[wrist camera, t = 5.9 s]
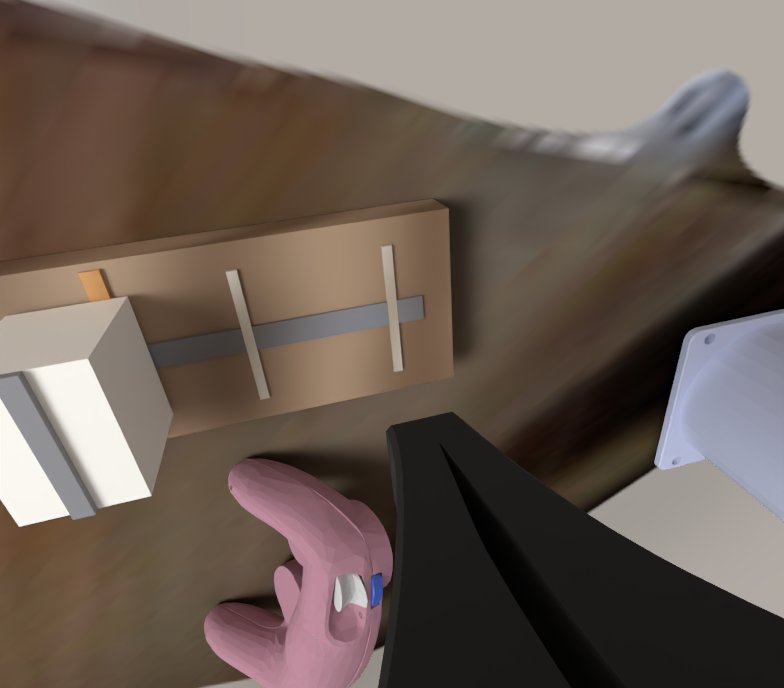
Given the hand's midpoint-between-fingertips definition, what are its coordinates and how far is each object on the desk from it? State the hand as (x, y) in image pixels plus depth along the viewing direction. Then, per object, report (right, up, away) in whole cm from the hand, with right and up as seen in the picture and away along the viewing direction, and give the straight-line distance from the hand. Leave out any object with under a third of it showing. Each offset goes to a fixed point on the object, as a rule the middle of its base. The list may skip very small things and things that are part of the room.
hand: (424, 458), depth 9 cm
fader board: (-5, +3, +6) cm, 9 cm away
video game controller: (-5, -6, +12) cm, 14 cm away
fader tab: (-9, +1, +4) cm, 10 cm away
